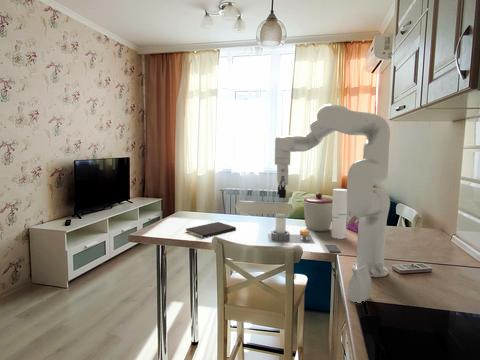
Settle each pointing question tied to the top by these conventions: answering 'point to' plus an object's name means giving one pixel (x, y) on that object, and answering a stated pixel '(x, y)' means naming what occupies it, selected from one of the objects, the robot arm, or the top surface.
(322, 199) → the canister
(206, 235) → the hardcover book
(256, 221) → the top surface
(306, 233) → the plunger
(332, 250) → the mat
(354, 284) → the white doll dress
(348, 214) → the candy bar box
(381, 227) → the robot arm
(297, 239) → the plate
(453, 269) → the top surface
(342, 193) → the cylindrical container
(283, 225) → the cylinder
